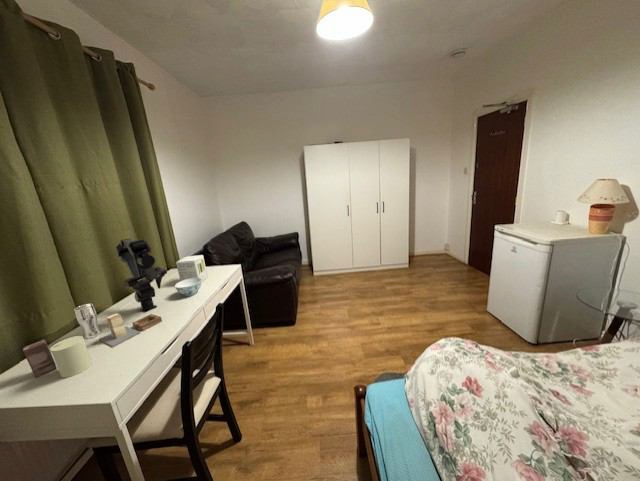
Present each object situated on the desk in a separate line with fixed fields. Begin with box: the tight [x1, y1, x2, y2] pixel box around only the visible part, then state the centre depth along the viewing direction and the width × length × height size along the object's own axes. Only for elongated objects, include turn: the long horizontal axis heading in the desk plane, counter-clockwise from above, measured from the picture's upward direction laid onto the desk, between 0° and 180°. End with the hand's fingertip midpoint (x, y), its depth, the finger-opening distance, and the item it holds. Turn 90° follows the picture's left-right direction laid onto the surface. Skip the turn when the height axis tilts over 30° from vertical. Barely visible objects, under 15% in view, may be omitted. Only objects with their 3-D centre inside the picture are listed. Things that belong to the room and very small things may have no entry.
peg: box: [106, 313, 127, 339], centre depth 117 cm, size 4×4×10 cm
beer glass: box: [73, 302, 102, 340], centre depth 121 cm, size 7×7×15 cm
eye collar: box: [132, 313, 163, 332], centre depth 127 cm, size 9×9×2 cm
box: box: [22, 339, 58, 378], centre depth 98 cm, size 6×4×12 cm
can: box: [49, 335, 93, 379], centre depth 97 cm, size 9×9×12 cm
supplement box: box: [175, 254, 209, 284], centre depth 179 cm, size 13×13×18 cm
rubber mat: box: [98, 325, 141, 348], centre depth 119 cm, size 14×11×1 cm
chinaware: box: [174, 278, 202, 297], centre depth 159 cm, size 15×15×8 cm
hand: (150, 291), depth 134 cm, fingers open, 9 cm apart
